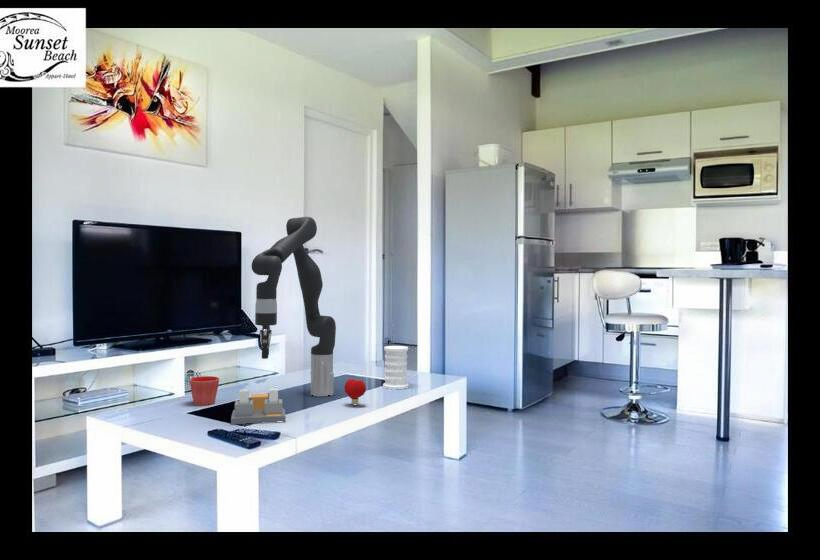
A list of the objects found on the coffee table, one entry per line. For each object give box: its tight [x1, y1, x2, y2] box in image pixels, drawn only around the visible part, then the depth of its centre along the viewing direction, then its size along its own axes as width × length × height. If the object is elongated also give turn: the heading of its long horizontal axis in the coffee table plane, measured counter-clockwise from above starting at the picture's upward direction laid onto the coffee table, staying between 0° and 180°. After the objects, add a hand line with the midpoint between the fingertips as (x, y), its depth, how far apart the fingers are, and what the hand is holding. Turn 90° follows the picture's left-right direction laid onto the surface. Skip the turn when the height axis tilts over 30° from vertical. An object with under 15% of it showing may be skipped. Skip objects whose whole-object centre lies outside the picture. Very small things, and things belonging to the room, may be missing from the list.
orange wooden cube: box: [250, 392, 269, 409], centre depth 220 cm, size 6×6×6 cm
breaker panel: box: [230, 398, 286, 425], centre depth 208 cm, size 18×12×6 cm, turn 103°
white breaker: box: [268, 388, 279, 403], centre depth 209 cm, size 3×3×6 cm
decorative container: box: [382, 345, 409, 388], centre depth 266 cm, size 12×12×18 cm
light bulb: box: [344, 378, 367, 405], centre depth 229 cm, size 9×7×10 cm
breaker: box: [238, 389, 250, 404], centre depth 206 cm, size 3×3×6 cm
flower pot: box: [189, 375, 220, 406], centre depth 230 cm, size 11×11×10 cm
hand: (265, 356), depth 211 cm, fingers open, 8 cm apart
